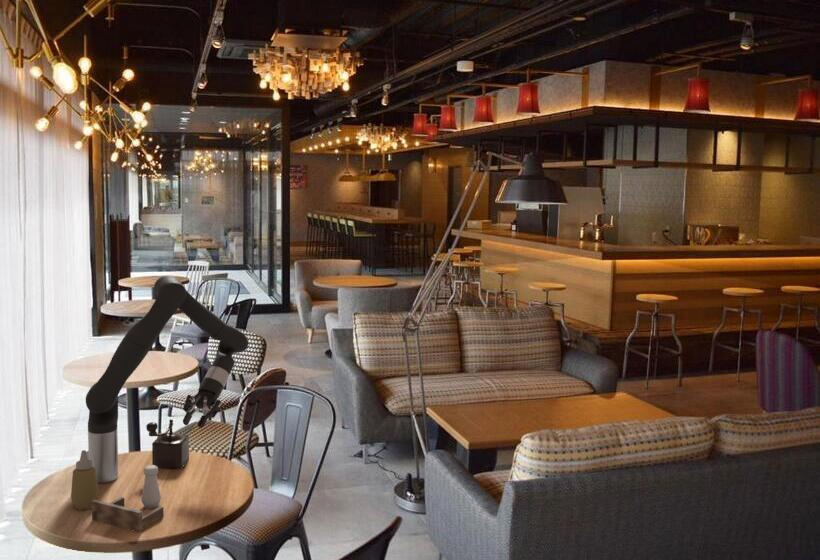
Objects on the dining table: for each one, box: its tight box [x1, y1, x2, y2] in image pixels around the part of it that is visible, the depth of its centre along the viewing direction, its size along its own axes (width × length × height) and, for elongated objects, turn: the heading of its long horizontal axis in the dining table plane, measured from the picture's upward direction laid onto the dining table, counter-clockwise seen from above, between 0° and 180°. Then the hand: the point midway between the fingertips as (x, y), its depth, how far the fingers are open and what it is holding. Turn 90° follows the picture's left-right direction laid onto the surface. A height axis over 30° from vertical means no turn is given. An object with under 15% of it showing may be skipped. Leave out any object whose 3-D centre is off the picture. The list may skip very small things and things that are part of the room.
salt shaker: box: [141, 464, 162, 510], centre depth 233 cm, size 6×6×13 cm
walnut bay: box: [91, 496, 164, 533], centre depth 225 cm, size 18×11×6 cm, turn 68°
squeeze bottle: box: [70, 449, 100, 511], centre depth 231 cm, size 8×8×18 cm
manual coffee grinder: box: [145, 419, 190, 470], centre depth 265 cm, size 16×11×18 cm
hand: (192, 425), depth 250 cm, fingers open, 5 cm apart
